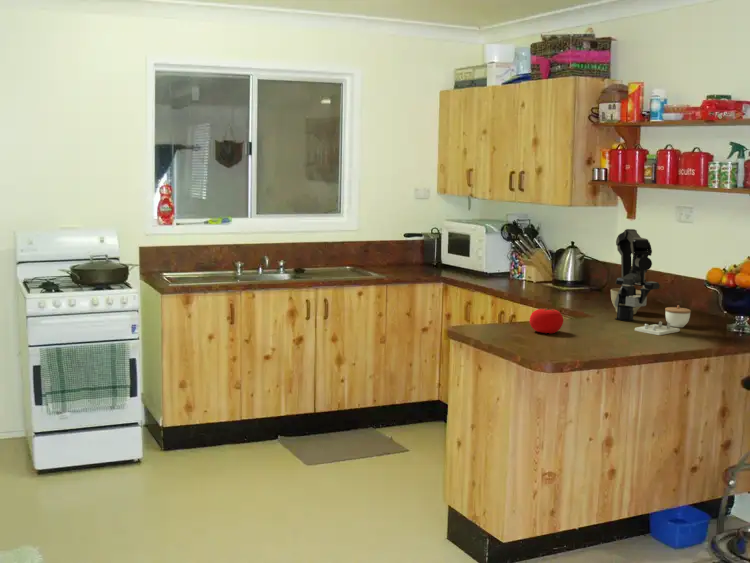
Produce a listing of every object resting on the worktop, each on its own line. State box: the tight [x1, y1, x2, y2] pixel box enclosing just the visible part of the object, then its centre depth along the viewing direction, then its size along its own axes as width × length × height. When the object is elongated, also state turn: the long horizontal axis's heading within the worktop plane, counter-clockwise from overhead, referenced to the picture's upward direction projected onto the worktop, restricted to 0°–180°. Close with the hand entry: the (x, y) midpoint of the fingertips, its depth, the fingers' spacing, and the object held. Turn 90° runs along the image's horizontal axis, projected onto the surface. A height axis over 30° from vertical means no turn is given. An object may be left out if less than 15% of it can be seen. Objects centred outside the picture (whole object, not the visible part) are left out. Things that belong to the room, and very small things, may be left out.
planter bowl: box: [610, 287, 642, 315], centre depth 440 cm, size 16×16×11 cm
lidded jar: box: [664, 304, 692, 328], centre depth 409 cm, size 11×11×9 cm
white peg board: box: [634, 321, 681, 336], centre depth 395 cm, size 12×16×3 cm
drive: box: [625, 295, 648, 308], centre depth 401 cm, size 5×8×4 cm, turn 126°
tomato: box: [528, 307, 564, 335], centre depth 383 cm, size 14×13×10 cm
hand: (635, 302), depth 401 cm, fingers closed on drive, 5 cm apart
